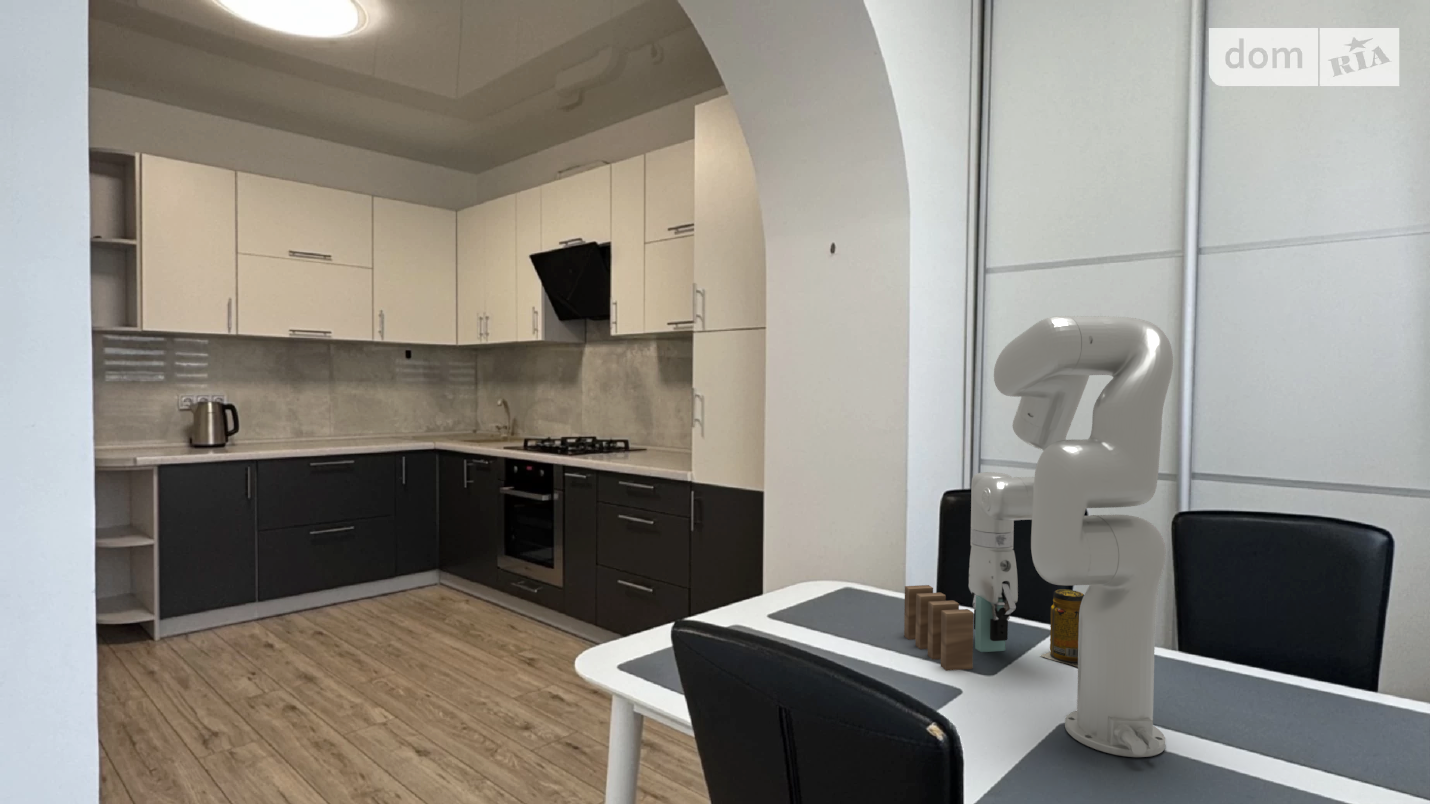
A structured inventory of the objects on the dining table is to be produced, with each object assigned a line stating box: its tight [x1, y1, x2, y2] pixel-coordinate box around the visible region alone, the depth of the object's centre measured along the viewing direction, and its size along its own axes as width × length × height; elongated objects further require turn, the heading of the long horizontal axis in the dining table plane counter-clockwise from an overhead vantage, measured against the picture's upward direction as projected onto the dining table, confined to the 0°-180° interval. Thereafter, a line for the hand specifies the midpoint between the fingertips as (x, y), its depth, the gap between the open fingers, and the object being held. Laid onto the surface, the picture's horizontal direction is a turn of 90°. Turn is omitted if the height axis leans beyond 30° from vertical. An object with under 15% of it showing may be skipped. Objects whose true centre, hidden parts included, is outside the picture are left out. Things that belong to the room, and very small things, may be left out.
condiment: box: [1040, 588, 1085, 668], centre depth 136 cm, size 7×8×12 cm
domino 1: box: [903, 584, 934, 641], centre depth 147 cm, size 2×5×10 cm, turn 100°
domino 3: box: [927, 600, 960, 660], centre depth 137 cm, size 2×5×10 cm, turn 99°
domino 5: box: [974, 596, 1006, 653], centre depth 140 cm, size 2×5×10 cm, turn 100°
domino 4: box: [940, 608, 974, 671], centre depth 131 cm, size 2×5×10 cm, turn 100°
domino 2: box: [915, 592, 947, 650], centre depth 142 cm, size 2×5×10 cm, turn 100°
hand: (990, 633), depth 140 cm, fingers open, 5 cm apart
